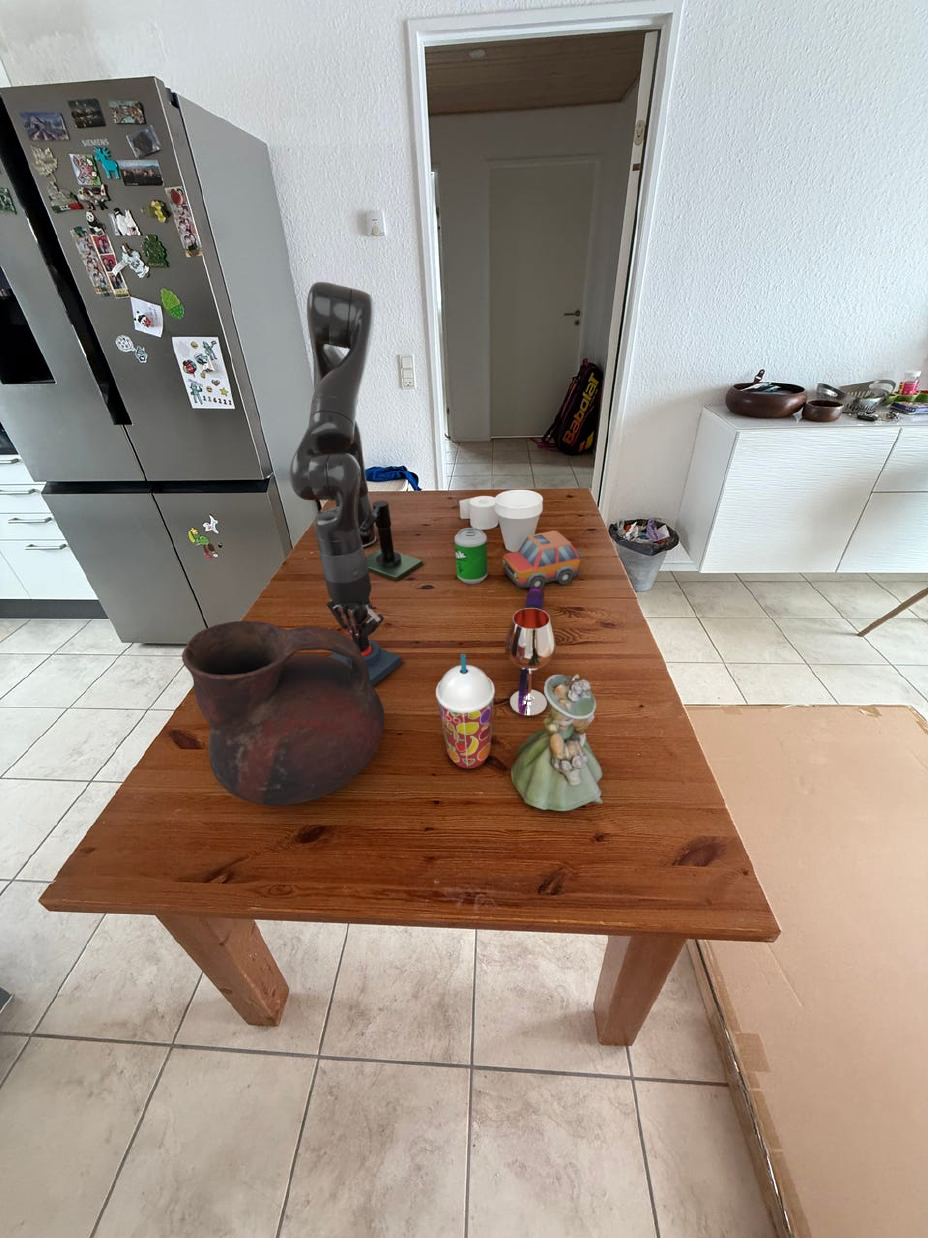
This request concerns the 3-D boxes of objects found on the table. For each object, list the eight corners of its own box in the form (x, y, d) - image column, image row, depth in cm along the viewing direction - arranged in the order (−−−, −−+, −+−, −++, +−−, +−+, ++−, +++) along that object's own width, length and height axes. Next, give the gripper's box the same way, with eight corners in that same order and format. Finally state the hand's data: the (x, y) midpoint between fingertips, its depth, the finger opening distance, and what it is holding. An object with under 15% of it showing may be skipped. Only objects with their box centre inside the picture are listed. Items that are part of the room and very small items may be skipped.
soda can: (488, 570, 127) (487, 526, 121) (486, 586, 121) (485, 540, 114) (458, 570, 128) (456, 526, 121) (455, 585, 122) (452, 540, 115)
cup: (548, 542, 139) (551, 493, 131) (528, 561, 130) (529, 511, 122) (508, 533, 144) (508, 486, 136) (486, 551, 136) (485, 502, 128)
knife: (527, 602, 115) (527, 583, 112) (543, 603, 114) (544, 584, 111) (507, 720, 85) (507, 697, 82) (529, 722, 84) (530, 700, 81)
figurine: (571, 852, 66) (585, 749, 55) (486, 794, 74) (482, 693, 62) (622, 779, 75) (644, 677, 63) (542, 734, 83) (547, 636, 71)
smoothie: (441, 736, 83) (431, 639, 72) (492, 731, 84) (489, 634, 72) (444, 778, 77) (433, 679, 65) (499, 773, 77) (498, 673, 65)
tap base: (356, 566, 132) (349, 527, 126) (383, 551, 139) (377, 513, 132) (396, 581, 125) (391, 540, 119) (422, 564, 132) (418, 525, 125)
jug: (394, 817, 72) (367, 684, 57) (209, 849, 69) (131, 719, 55) (387, 695, 92) (365, 576, 78) (243, 717, 89) (193, 597, 75)
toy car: (499, 573, 126) (499, 536, 120) (560, 559, 130) (562, 523, 124) (518, 596, 117) (519, 557, 111) (583, 580, 121) (587, 542, 115)
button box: (328, 664, 100) (325, 650, 98) (358, 643, 105) (355, 629, 103) (372, 686, 94) (369, 672, 92) (401, 663, 99) (399, 649, 97)
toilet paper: (460, 518, 154) (459, 496, 150) (498, 517, 153) (497, 495, 149) (459, 530, 147) (458, 507, 143) (498, 529, 147) (498, 506, 143)
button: (350, 657, 98) (348, 650, 97) (363, 648, 101) (362, 641, 100) (363, 664, 97) (361, 657, 96) (376, 654, 99) (375, 647, 98)
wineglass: (556, 691, 91) (562, 607, 80) (547, 724, 84) (552, 637, 74) (511, 683, 93) (512, 600, 83) (499, 714, 87) (498, 629, 77)
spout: (378, 521, 127) (375, 500, 124) (393, 522, 127) (390, 500, 123) (358, 549, 115) (353, 526, 112) (374, 550, 115) (370, 526, 112)
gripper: (388, 570, 87) (401, 650, 97) (335, 552, 93) (352, 628, 103) (357, 590, 82) (373, 672, 92) (303, 569, 89) (324, 648, 98)
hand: (362, 649), depth 98 cm, fingers closed
